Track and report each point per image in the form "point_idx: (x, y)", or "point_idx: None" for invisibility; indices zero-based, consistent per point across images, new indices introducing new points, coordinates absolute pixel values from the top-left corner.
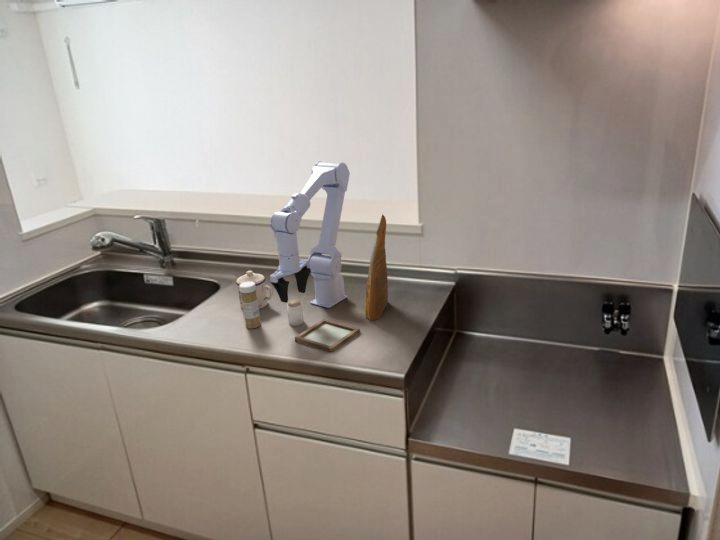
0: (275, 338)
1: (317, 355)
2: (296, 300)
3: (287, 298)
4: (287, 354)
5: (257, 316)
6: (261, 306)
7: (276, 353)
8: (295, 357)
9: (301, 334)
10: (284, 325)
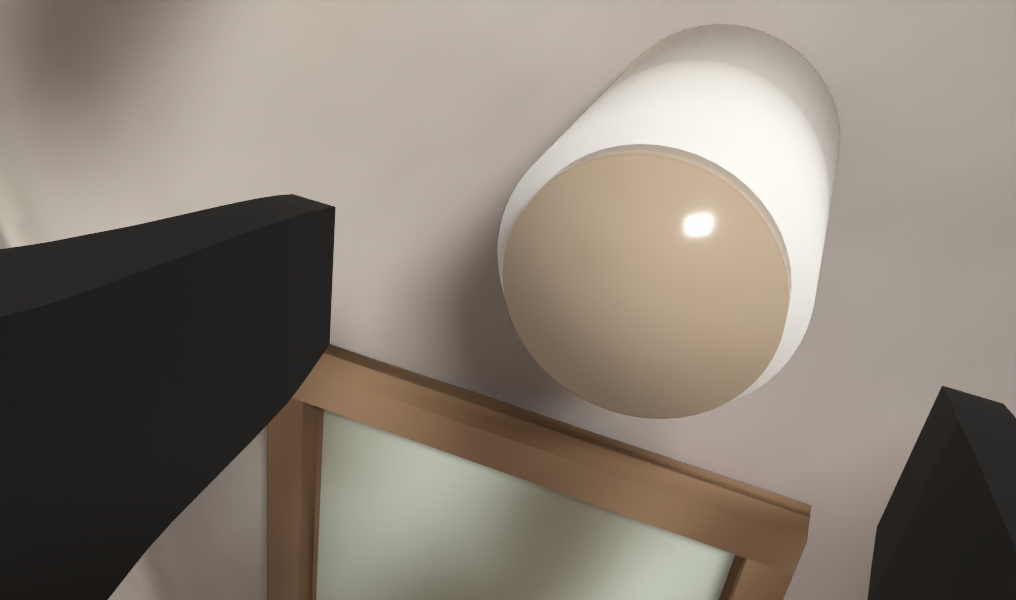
0: (238, 89)
1: (208, 581)
2: (735, 314)
3: (259, 410)
4: None
5: None
6: None
7: None
8: None
9: (346, 405)
10: (569, 12)
